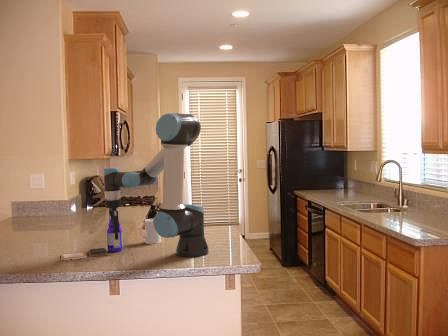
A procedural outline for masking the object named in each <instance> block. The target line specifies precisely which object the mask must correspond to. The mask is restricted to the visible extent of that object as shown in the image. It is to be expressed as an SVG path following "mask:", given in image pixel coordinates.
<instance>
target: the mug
mask: <svg viewBox="0 0 448 336" xmlns="http://www.w3.org/2000/svg"><path fill="white" fill-rule="evenodd" d="M153 220H154V218H148V219H147V218H146V219H144V223H143V224H141V226H140V228H139V235H140V237H142V238H143V239H145V242H144V243H145V244H147V245H156V244H157V245H158V244H160V243H162V237H161V236H160V235H159V234H158V233H157V232H156V230H155V228H154V224H153ZM143 227H144V234H145V236H144V235H142V233H141V232H142V228H143Z"/></svg>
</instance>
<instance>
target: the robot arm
mask: <svg viewBox="0 0 448 336" xmlns="http://www.w3.org/2000/svg"><path fill="white" fill-rule="evenodd" d="M201 129H202V127H201V123H200V121H199V119H198V118H197V117H196V116H195V115H193V114H190V113H178V112H170V113H165V114H163V115H161V116H160V118H158V120H157V122H156V125H155V133H156V135H157V138H158V139H160V145H161V146H162V148H161V149H160V150H159V151H158V153H156V155H154V157H153V158H152V159H151V160H150V161H149V162H148V163H147V164H146V165H145V167H144V168H142V169H141V170H133V171H120V167H105V168H104V169H103V183H104V186H103V187H104V199H105V201H104V205H105V206H104V207H105V208H107V209H109V210H108V215H109V216H108V218H109V220H108V221H109V222H110V216H111V220H112V223H113V231H112V233H113V242H114V246H120V243H119V232H120V230H119V223H120V219H119V211H118V210H117V208H121V207H122V201H121V200H122V199H121V198H122V195H121V194H122V191H121V188H125V189H126V188H127V189H135V188H137V187H143V186H151V185H154V184H155V183H157V181H158V178H159V175H160V174H161V173H162V172H163V178H162V179H163V180H162V182H163V185H162V203H160V205H159V206H158V212H157V213H156V214H155V215H154V217H153V219H154V220H153V224H154V228H155V230H156V232H157V233H158V234H159V235H160V236H161V238H165V239H169V238H175V237H177V236H179V238H178V242H177V245H176V248H175V253H176V255H177V256H178V257H184V258H193V257H202V256H205V255H208V254H209V253H210V252H209V245H208V243H207V240H206V238H205V223H204V220H205V219H204V217H205V216H204V214H205V213H204V207H203V206H202V205H201V204H187V203H183V199H184V197H183V194H184V193H183V190H184V165H185V164H184V163H185V162H184V161H185V160H184V159H185V149H186V148H187V147H190V146H192V144H193V143H195V141H196V140H198V137H199V136H200V133H201V131H202V130H201ZM118 219H119V220H118ZM116 229H117V230H116Z"/></svg>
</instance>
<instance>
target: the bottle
mask: <svg viewBox="0 0 448 336" xmlns="http://www.w3.org/2000/svg"><path fill="white" fill-rule="evenodd" d="M118 220H119V221H120V219H119V218H118ZM116 230H117V229H116ZM119 230H120V232H119V243H120V246H114V242H113V233H112V231H113V223H112V220H111V216H110V222H109V223H108V227H107V230H106V241H107V242H106V243H107V244H106V245H107V246H106V247H107V252H110V253H113V252H117V253H118V252H121V251H122V250H123V246H124V245H123V229H122V228H121V223H120V222H119Z"/></svg>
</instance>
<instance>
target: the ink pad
mask: <svg viewBox="0 0 448 336" xmlns="http://www.w3.org/2000/svg"><path fill="white" fill-rule="evenodd" d="M87 253H88V255H89V258H91V257H92V258H93V257H100V256H101V257H102V256H108V250H106V248H105V247H98V248H97V247H96V248H89V250H88V251H87Z"/></svg>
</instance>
